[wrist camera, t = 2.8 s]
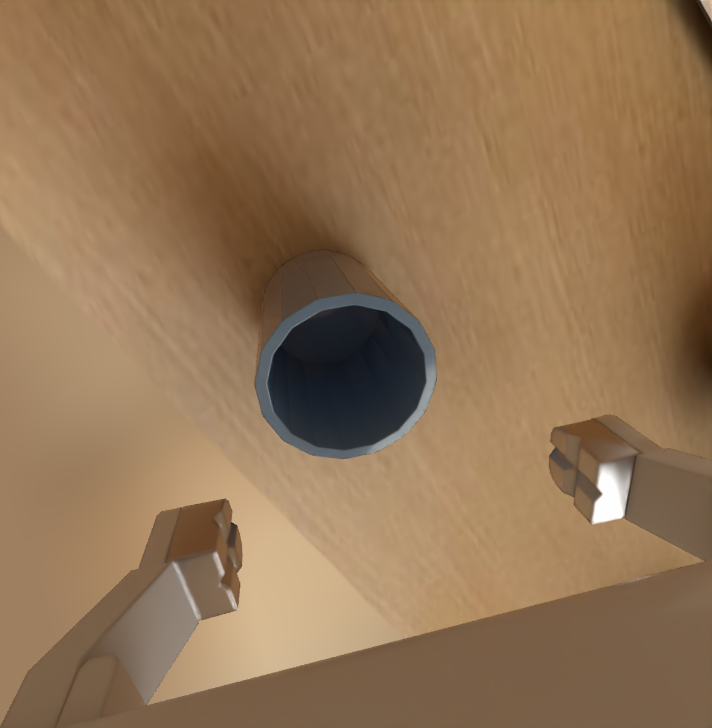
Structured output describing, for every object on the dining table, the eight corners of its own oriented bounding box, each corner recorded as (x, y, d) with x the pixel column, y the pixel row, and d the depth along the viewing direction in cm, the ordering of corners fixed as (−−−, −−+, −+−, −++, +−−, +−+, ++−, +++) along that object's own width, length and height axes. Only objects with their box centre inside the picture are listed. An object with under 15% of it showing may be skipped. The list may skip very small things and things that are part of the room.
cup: (275, 376, 25) (277, 474, 17) (249, 261, 22) (235, 312, 14) (387, 355, 26) (440, 439, 18) (375, 240, 23) (431, 279, 15)
